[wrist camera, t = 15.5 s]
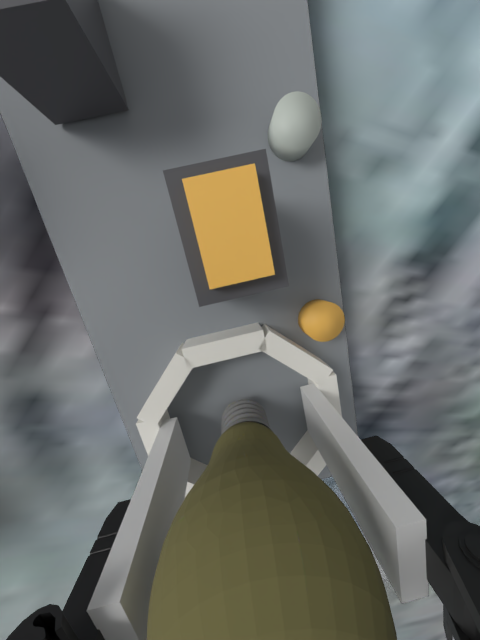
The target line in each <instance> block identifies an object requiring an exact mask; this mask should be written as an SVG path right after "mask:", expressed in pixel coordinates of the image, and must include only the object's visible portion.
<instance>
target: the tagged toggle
mask: <svg viewBox="0 0 480 640" xmlns="http://www.w3.org/2000/svg"><path fill="white" fill-rule="evenodd" d="M163 173H164V177H165V181H166V185H167V188H168V192H169V196H170V200H171V203H172V207H173V211H174V215H175V218H176V222H177V226H178V229H179V233H180V237H181V241H182V244H183V248H184V252H185V256H186V259H187V263H188V267H189V270H190V274H191V278H192V282H193V285H194V289H195V293H196V297H197V300H198V304H199V307H202V306H206V305H210V304H215V303H219V302H223V301H228V300H232V299H236V298H241V297H245V296H249V295H253V294H258V293H262V292H266V291H271V290H275V289H279V288H284V287H288V286H289V283H288V277H287V271H286V265H285V259H284V253H283V247H282V241H281V235H280V229H279V223H278V218H277V212H276V206H275V200H274V194H273V188H272V182H271V176H270V170H269V164H268V158H267V153H266V149H261V150H257V151H252V152H247V153H243V154H238V155H233V156H229V157H224V158H219V159H214V160H210V161H205V162H200V163H196V164H191V165H186V166H182V167H177V168H172V169H167V170H163Z"/></svg>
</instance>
